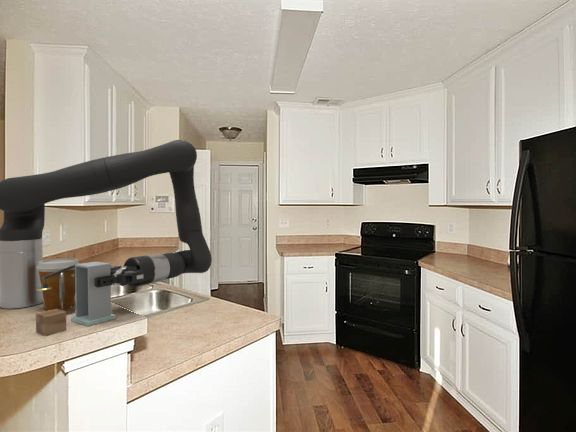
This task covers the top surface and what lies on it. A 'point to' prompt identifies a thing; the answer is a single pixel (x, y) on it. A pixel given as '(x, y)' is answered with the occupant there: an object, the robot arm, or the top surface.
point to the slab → (84, 320)
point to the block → (50, 322)
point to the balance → (61, 289)
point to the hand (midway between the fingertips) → (84, 280)
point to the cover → (92, 291)
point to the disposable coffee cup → (57, 281)
